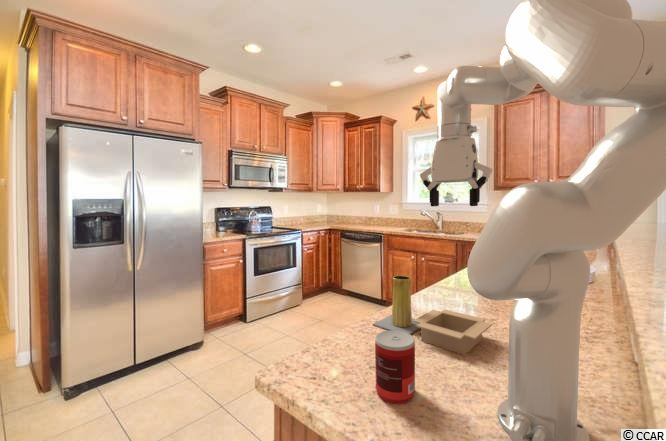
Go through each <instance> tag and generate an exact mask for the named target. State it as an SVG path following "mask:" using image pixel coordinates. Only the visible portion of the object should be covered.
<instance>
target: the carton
mask: <svg viewBox="0 0 666 441" xmlns="http://www.w3.org/2000/svg"><path fill="white" fill-rule="evenodd" d="M414 319H415V320H413V322H415V323H419V324H418V325H416V327H418V328H421V329H420V331H421V335H420V336H421V337H420V338H421V339H420V340H421V342H424V343H427V344H429V345H433V346H436V347H439V348H442V349H445V350H448V351H451V352H455V353H456V354H460V355H464V356H465V355H466V354H467V353H469V351H471V350H472V349H473V348H474V347H476V346H477V344H479V343H480V342H481V341H482V340H483V334H484V333H485V332H486V331H487V330H489V329H490V328H491V327H492V326H493V323H489V322H486V318H483V317H479V316H474V315H471V314H467V313H462V312H457V311H453V310H449V309H444V310H441V311H440V310H437V309H432V310H429V311H428V312H425V314H422V315H420V316H419V317H417V318H414Z"/></svg>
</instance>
